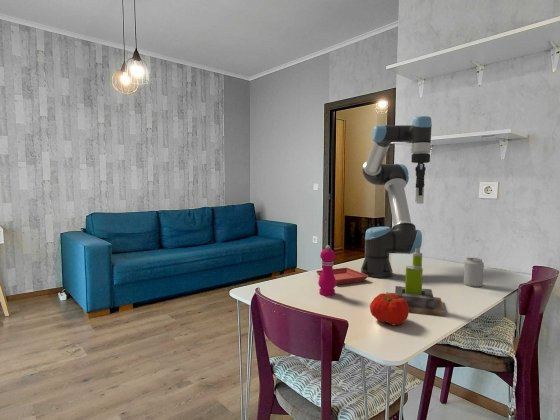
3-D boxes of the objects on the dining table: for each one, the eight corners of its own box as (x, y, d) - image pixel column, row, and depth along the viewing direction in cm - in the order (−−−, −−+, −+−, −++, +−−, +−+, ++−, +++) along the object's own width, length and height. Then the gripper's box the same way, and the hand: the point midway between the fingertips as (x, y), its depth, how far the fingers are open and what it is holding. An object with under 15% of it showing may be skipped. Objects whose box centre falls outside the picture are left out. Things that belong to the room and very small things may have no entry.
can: (466, 281, 165) (468, 256, 164) (484, 285, 160) (486, 258, 159) (461, 285, 160) (462, 258, 159) (479, 288, 155) (480, 261, 154)
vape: (418, 304, 130) (420, 249, 128) (403, 300, 134) (404, 247, 133) (423, 302, 133) (425, 248, 131) (407, 298, 137) (409, 246, 135)
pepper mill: (324, 297, 142) (325, 247, 140) (314, 292, 148) (315, 244, 147) (339, 294, 145) (340, 246, 144) (329, 290, 152) (330, 243, 150)
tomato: (365, 314, 124) (365, 290, 124) (400, 314, 125) (401, 290, 124) (375, 329, 112) (376, 302, 111) (415, 329, 112) (416, 302, 111)
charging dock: (384, 309, 129) (384, 295, 129) (386, 295, 144) (386, 283, 144) (445, 316, 123) (445, 302, 122) (440, 301, 138) (440, 288, 137)
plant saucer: (315, 277, 174) (315, 270, 173) (346, 273, 181) (346, 267, 180) (335, 287, 157) (335, 279, 157) (369, 282, 164) (369, 275, 164)
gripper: (432, 150, 142) (430, 204, 143) (428, 155, 165) (426, 201, 167) (412, 151, 144) (410, 204, 146) (411, 155, 168) (409, 201, 169)
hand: (419, 202), depth 156 cm, fingers open, 13 cm apart
